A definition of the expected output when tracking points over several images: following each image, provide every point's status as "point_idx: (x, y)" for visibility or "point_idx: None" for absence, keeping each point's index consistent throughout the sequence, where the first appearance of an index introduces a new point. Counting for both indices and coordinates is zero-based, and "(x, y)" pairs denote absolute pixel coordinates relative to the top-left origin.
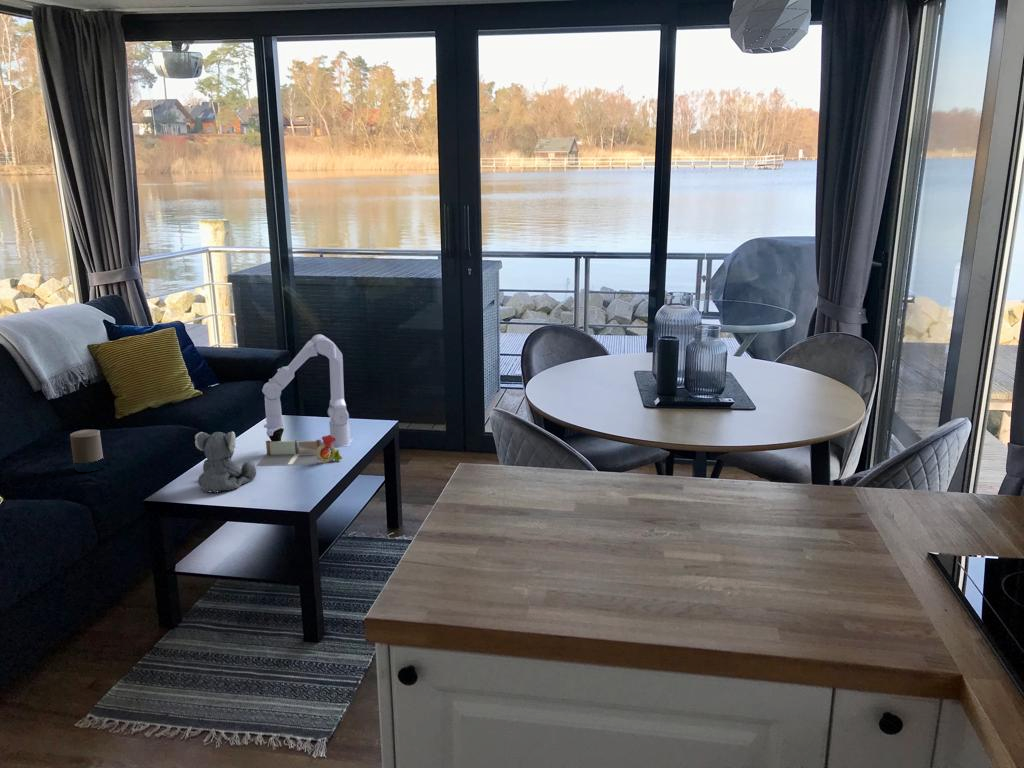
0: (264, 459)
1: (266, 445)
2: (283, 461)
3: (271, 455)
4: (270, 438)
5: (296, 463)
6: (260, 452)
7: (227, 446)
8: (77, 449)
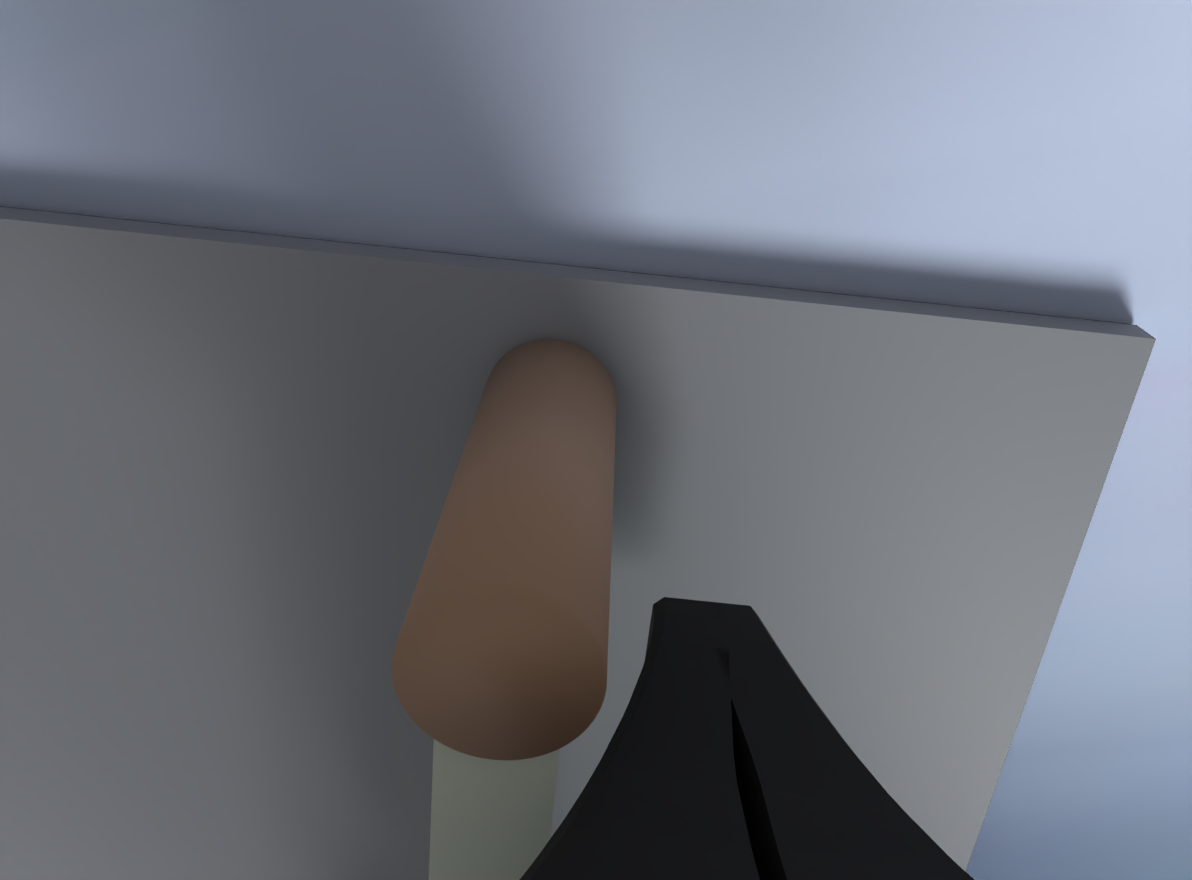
0: (125, 322)
1: (457, 504)
2: (9, 782)
3: None
4: (540, 867)
5: None
6: (998, 19)
7: None
8: None
